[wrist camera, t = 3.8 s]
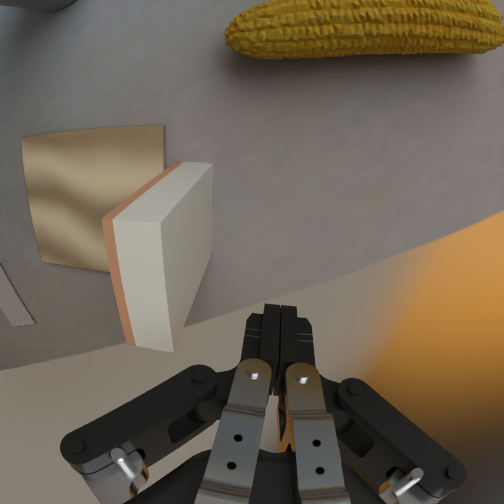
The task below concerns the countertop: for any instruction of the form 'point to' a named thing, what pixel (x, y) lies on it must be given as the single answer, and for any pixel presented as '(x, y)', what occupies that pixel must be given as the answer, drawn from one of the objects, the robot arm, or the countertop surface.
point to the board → (85, 186)
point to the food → (365, 28)
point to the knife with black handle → (13, 302)
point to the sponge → (160, 252)
